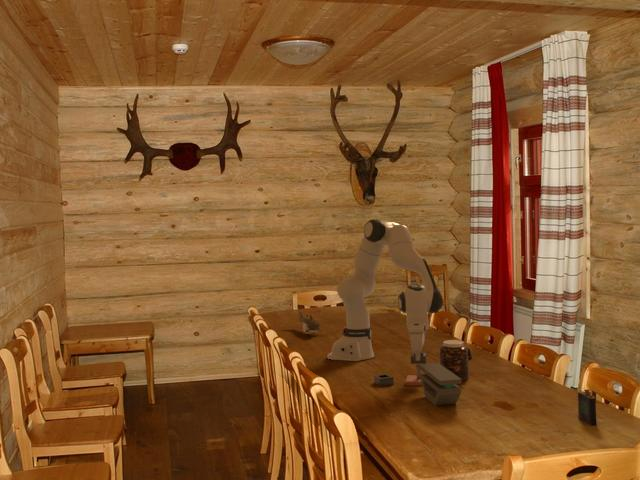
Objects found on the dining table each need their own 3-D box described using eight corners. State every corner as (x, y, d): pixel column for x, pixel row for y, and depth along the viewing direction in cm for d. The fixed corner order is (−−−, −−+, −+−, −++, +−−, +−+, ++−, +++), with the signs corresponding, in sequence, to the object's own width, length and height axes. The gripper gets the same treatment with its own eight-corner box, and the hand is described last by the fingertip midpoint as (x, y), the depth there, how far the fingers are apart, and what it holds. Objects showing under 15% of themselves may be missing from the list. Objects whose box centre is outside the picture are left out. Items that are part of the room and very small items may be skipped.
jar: (470, 374, 299) (469, 339, 298) (466, 382, 288) (465, 345, 287) (442, 373, 303) (441, 338, 302) (437, 380, 292) (436, 344, 291)
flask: (576, 417, 238) (576, 385, 238) (584, 416, 239) (584, 385, 238) (591, 426, 229) (590, 393, 228) (599, 425, 230) (599, 392, 229)
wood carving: (306, 327, 424) (305, 308, 424) (325, 337, 391) (324, 317, 390) (292, 328, 422) (291, 310, 421) (310, 339, 388) (309, 318, 388)
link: (410, 363, 288) (410, 356, 288) (412, 360, 294) (411, 353, 294) (425, 363, 287) (425, 356, 287) (426, 360, 293) (426, 353, 292)
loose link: (379, 386, 287) (379, 378, 287) (374, 382, 293) (374, 375, 293) (393, 384, 289) (393, 377, 289) (387, 380, 295) (387, 373, 294)
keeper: (405, 385, 287) (404, 368, 287) (407, 378, 297) (407, 362, 296) (430, 385, 285) (429, 368, 284) (432, 379, 294) (431, 362, 294)
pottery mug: (475, 361, 324) (467, 347, 322) (456, 370, 326) (448, 356, 324) (470, 349, 335) (462, 335, 333) (452, 358, 337) (444, 344, 335)
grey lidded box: (420, 392, 276) (419, 364, 275) (439, 390, 277) (438, 363, 276) (441, 411, 251) (440, 380, 251) (462, 409, 252) (461, 379, 252)
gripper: (412, 320, 300) (413, 352, 301) (407, 329, 280) (408, 364, 281) (427, 320, 299) (428, 352, 300) (423, 329, 279) (425, 364, 280)
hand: (418, 358), depth 290 cm, fingers closed on link, 6 cm apart
